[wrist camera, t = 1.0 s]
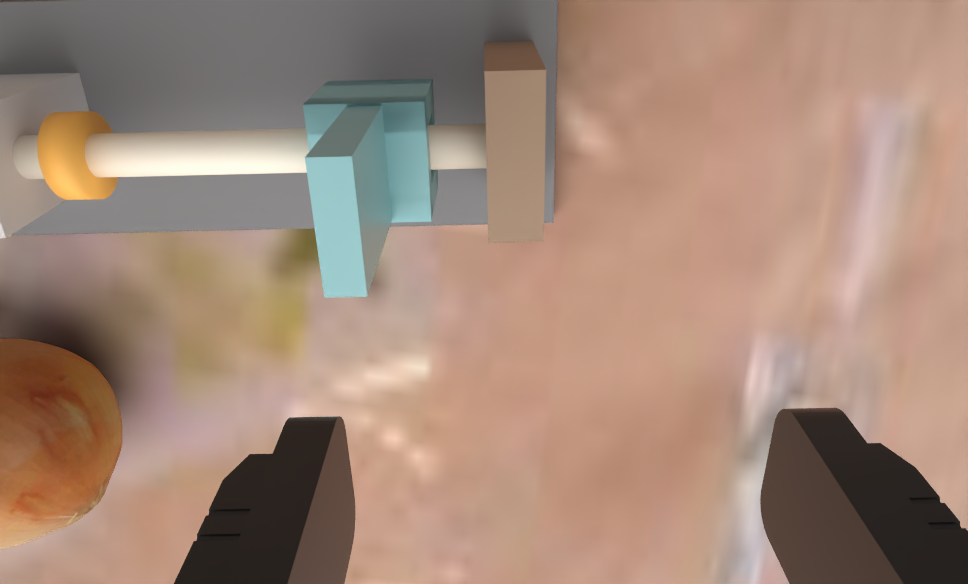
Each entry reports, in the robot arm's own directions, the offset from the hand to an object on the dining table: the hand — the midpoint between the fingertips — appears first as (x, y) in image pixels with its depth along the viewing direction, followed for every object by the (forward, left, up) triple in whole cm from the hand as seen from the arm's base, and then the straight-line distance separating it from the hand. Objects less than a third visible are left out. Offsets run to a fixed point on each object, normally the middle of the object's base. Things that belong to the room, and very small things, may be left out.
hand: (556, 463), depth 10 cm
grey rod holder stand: (+11, 0, -24) cm, 26 cm away
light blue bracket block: (+5, 0, -20) cm, 20 cm away
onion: (+24, +14, -24) cm, 37 cm away
